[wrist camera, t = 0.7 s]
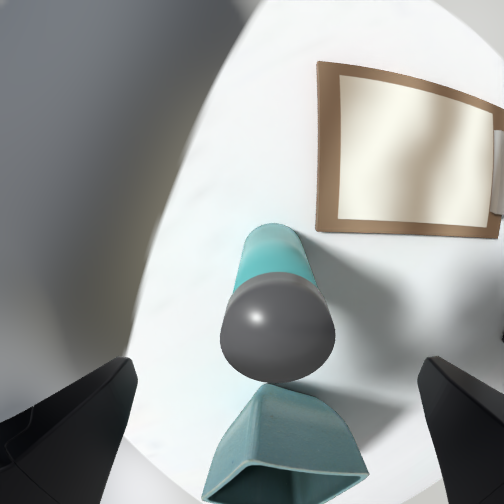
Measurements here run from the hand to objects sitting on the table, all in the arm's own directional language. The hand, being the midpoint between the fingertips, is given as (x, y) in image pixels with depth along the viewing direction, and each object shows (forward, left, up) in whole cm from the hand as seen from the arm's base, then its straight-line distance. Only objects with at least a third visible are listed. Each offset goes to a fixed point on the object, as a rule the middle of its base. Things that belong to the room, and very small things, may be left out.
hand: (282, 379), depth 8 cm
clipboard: (-10, -7, -11) cm, 16 cm away
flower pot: (-1, +14, -11) cm, 18 cm away
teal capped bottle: (0, 0, -11) cm, 11 cm away
